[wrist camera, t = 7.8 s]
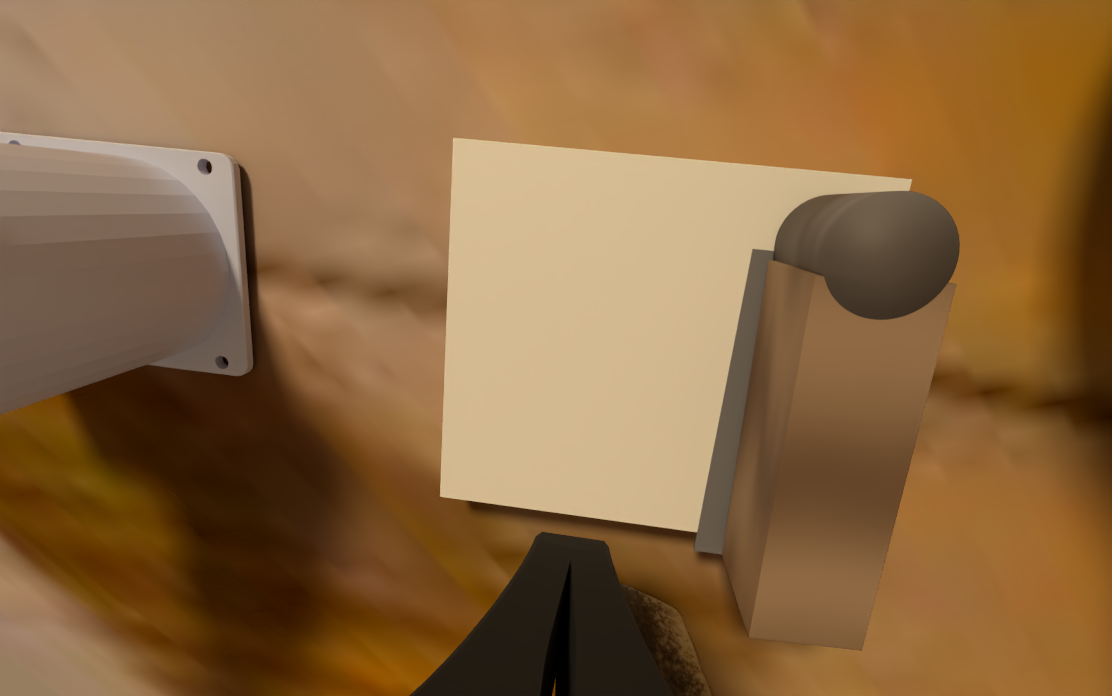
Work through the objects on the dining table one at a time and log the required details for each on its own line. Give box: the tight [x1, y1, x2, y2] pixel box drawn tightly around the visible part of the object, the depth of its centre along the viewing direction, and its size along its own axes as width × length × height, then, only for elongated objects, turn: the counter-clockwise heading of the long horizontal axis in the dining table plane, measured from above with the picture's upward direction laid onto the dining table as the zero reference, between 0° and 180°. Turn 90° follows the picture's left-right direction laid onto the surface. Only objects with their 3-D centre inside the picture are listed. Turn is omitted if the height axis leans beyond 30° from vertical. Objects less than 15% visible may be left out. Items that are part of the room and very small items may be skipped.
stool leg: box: [722, 191, 960, 651], centre depth 14 cm, size 12×3×4 cm, turn 177°
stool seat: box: [440, 138, 912, 554], centre depth 17 cm, size 13×13×2 cm
